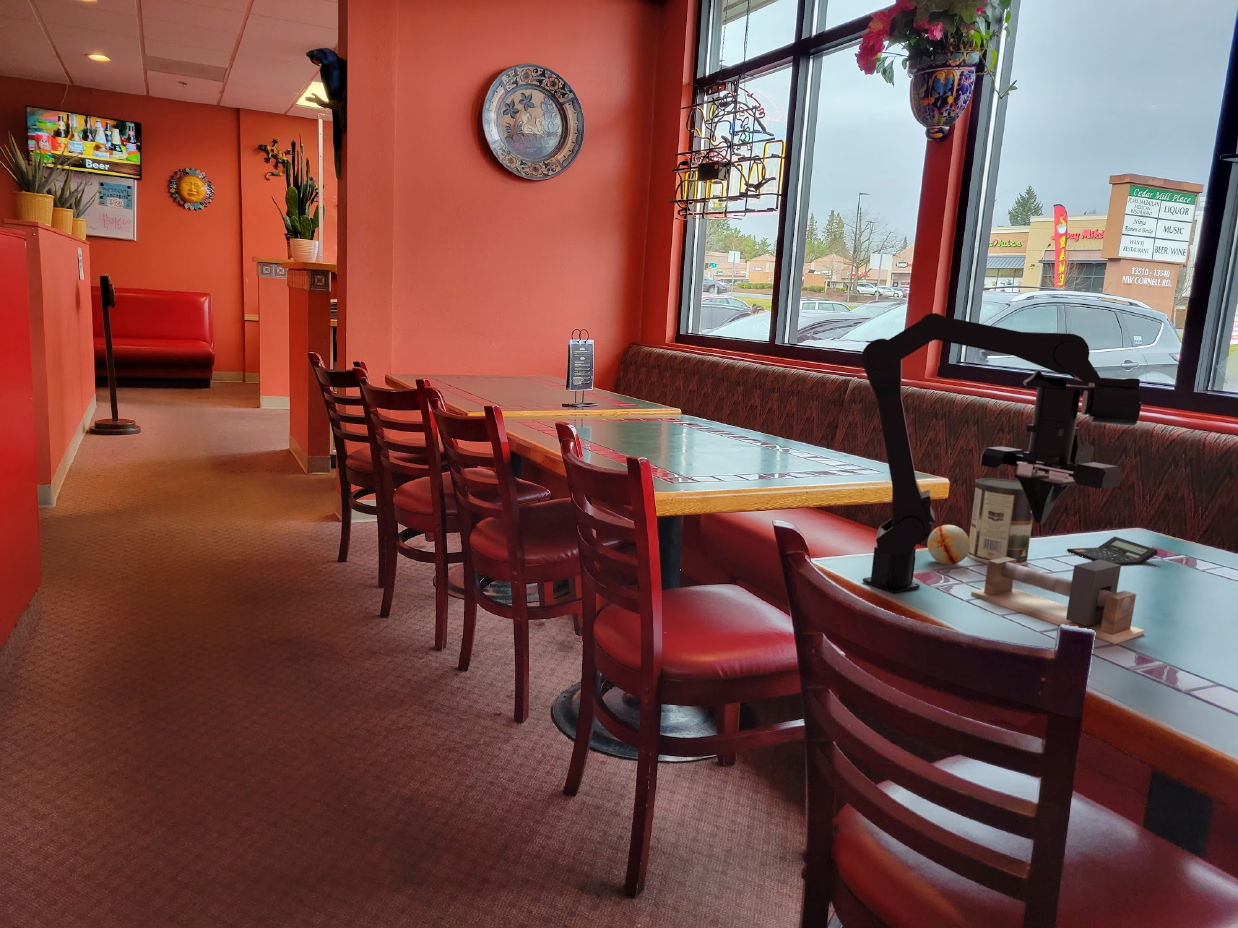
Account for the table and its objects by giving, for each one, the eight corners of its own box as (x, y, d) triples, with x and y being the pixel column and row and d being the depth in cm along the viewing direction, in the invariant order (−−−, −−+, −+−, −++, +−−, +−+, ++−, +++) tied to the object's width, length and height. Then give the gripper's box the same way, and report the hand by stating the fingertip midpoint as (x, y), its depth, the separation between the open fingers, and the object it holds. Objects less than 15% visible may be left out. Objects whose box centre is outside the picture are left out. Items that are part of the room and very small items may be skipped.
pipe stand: (1143, 634, 121) (1150, 594, 120) (1115, 643, 117) (1121, 602, 116) (1000, 588, 139) (1005, 553, 138) (970, 595, 135) (975, 559, 134)
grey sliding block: (1112, 618, 124) (1121, 565, 123) (1086, 626, 120) (1095, 571, 119) (1091, 611, 127) (1099, 559, 125) (1066, 619, 123) (1074, 565, 121)
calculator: (1066, 553, 165) (1069, 537, 165) (1113, 551, 169) (1116, 536, 168) (1107, 567, 156) (1109, 551, 156) (1155, 565, 160) (1158, 549, 159)
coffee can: (1019, 554, 161) (1029, 480, 158) (1033, 569, 151) (1045, 491, 148) (961, 548, 163) (970, 475, 160) (971, 563, 153) (982, 486, 150)
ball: (973, 564, 152) (978, 526, 151) (959, 572, 147) (964, 532, 146) (933, 555, 157) (938, 518, 155) (919, 563, 151) (923, 524, 150)
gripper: (1148, 426, 123) (1131, 532, 126) (1025, 410, 138) (1012, 505, 141) (1108, 429, 117) (1091, 540, 120) (984, 411, 132) (971, 510, 135)
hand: (1039, 522), depth 129 cm, fingers closed
